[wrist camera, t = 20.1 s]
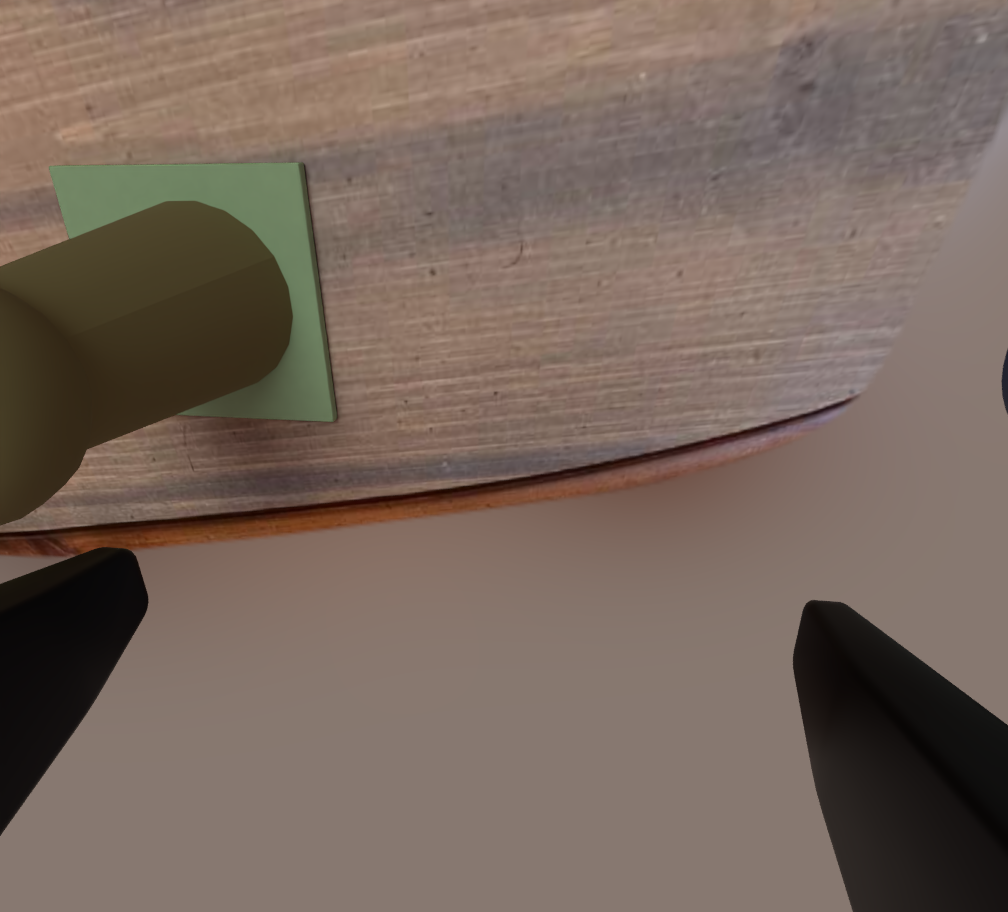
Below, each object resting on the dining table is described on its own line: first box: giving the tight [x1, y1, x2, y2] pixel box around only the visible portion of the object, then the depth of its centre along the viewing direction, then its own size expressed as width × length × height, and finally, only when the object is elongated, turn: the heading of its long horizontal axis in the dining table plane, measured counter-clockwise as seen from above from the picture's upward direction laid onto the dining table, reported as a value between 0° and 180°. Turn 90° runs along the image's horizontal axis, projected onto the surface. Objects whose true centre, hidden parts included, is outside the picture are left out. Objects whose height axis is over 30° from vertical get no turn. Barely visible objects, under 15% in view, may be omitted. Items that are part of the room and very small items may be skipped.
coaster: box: [49, 163, 337, 422], centre depth 21 cm, size 8×8×1 cm
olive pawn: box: [0, 201, 293, 525], centre depth 16 cm, size 6×6×11 cm
